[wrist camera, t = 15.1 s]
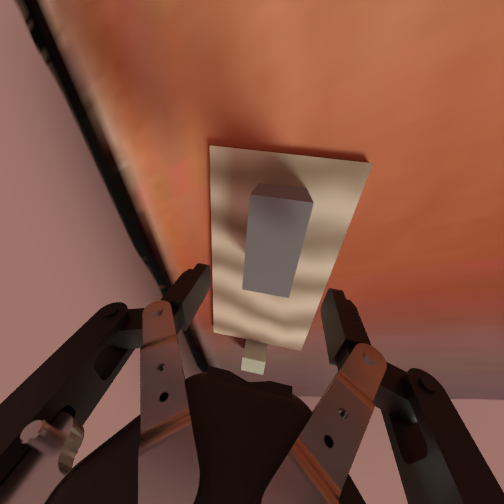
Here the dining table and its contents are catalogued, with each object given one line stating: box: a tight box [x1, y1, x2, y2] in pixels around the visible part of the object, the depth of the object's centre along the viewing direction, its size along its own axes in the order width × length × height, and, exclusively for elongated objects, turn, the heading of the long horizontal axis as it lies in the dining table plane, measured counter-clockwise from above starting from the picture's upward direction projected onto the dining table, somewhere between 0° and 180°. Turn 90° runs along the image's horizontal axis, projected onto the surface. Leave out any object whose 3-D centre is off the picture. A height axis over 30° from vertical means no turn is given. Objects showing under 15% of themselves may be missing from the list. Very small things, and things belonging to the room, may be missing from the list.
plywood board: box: [210, 145, 373, 351], centre depth 26 cm, size 30×16×1 cm, turn 175°
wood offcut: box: [241, 339, 267, 375], centre depth 34 cm, size 4×4×4 cm
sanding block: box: [242, 182, 314, 298], centre depth 19 cm, size 10×5×6 cm, turn 175°
